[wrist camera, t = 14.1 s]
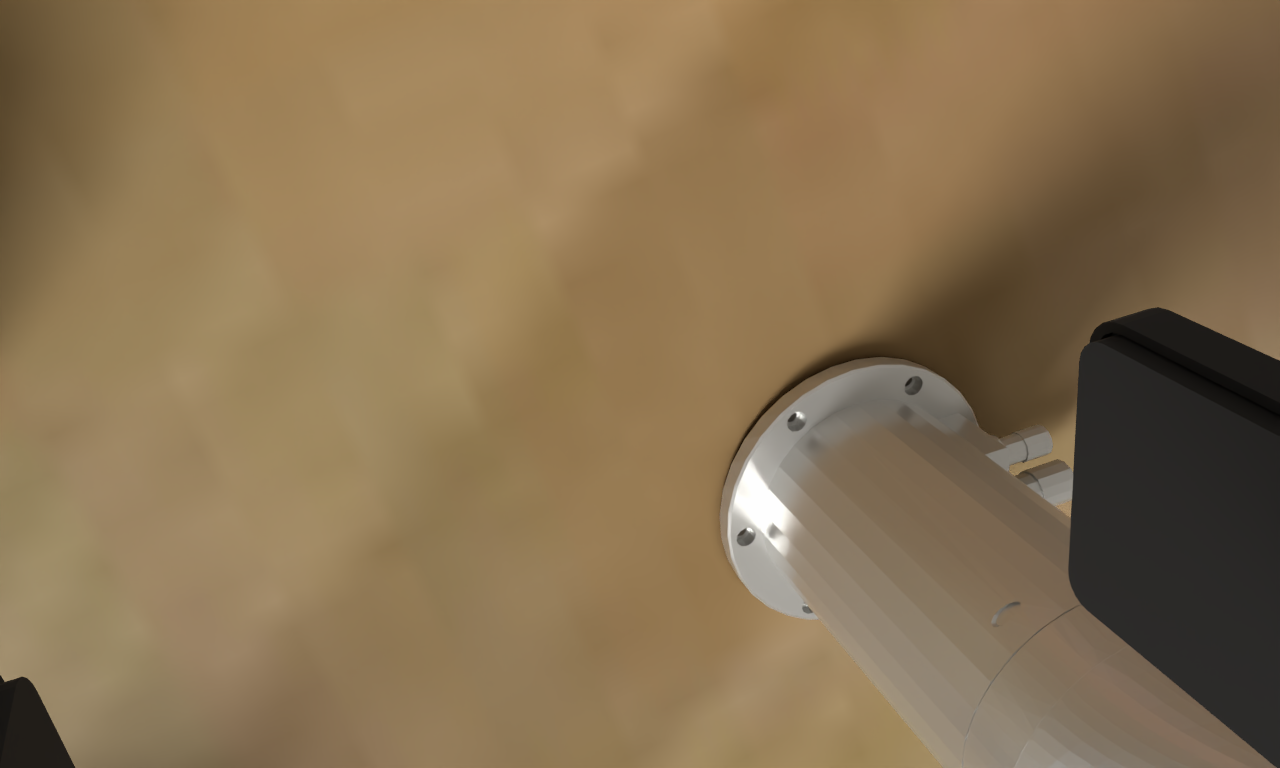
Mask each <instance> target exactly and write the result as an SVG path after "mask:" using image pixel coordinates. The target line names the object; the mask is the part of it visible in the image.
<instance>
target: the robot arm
mask: <svg viewBox="0 0 1280 768" xmlns="http://www.w3.org/2000/svg"><path fill="white" fill-rule="evenodd" d="M1052 447H1053V444H1052V438H1051V436H1050V434H1049V432H1048V430H1047V429H1046V428H1045V427H1044V426H1042V425H1039V424H1037V425H1034V426H1031V427H1028V428H1025V429H1022V430H1019V431H1016V432H1013V433H1012V434H1010V435H1009V436H1006V437H1003V438H1000V439H999V438H998V437H996V436H994V435H989V434H987V433H986V432H985V431H983V430H982V429H980V428H979V425H978V423H977V420H976V417H975V415H974V412H973V410H972V408H971V407H970V405H969V404H968V402H967V401H966V399H965V398H964V397H963V395H962V394H961V392H960V391H958V390H957V389H956V388H955V387H954V386H953V385H951V384H950V383H949V382H948V381H947V380H946V379H944V378H943V377H941V376H939V375H938V374H936V373H935V372H933V371H932V370H930V369H928V368H927V367H925V366H922V365H919V364H917V363H914V362H911V361H908V360H905V359H897V358H887V357H875V358H865V359H856V360H853V361H849V362H846V363H843V364H839V365H836V366H833V367H830V368H828V369H826V370H824V371H822V372H820V373H818V374H816V375H814V376H812V377H810V378H808V379H806V380H804V381H803V382H802V383H800V384H799V385H797V386H796V387H795V388H793V389H792V390H790V391H789V392H788V393H786V394H785V395H783V396H782V397H781V398H780V399H779V400H778V401H777V402H776V403H775V404H774V405H773V406H772V407H771V408H770V409H769V410H768V411H767V412H766V413H765V414H764V415H763V416H762V417H761V418H760V419H759V421H758V422H757V423H756V425H755V426H754V427H753V429H752V430H751V431H750V433H749V434H748V435H747V437H746V438H745V439H744V441H743V443H742V445H741V447H740V449H739V451H738V453H737V455H736V456H735V458H734V460H733V462H732V464H731V467H730V470H729V473H728V476H727V479H726V482H725V485H724V488H723V494H722V501H721V508H720V527H721V539H722V542H723V546H724V549H725V552H726V556H727V559H728V561H729V562H730V564H731V566H732V568H733V569H734V571H735V573H736V574H737V576H738V578H739V579H740V580H741V581H742V582H743V584H744V585H745V586H746V587H747V588H748V590H749V591H750V592H751V593H752V595H754V596H755V597H756V598H757V599H759V600H760V601H761V602H763V603H764V604H765V605H766V606H768V607H769V608H772V609H774V610H776V611H778V612H781V613H783V614H785V615H787V616H792V617H796V618H801V619H807V620H820V621H821V622H822V623H823V624H824V626H825V627H826V628H827V629H828V630H829V632H830V633H831V634H832V635H833V636H834V638H835V639H836V640H837V641H838V642H839V644H840V645H841V646H842V647H843V648H844V650H845V651H846V652H847V653H848V654H849V656H850V657H851V658H852V659H853V660H854V662H855V663H856V664H857V665H858V666H859V668H860V669H861V670H862V671H863V672H864V674H865V675H866V676H867V677H868V678H869V679H870V681H871V682H872V683H873V684H874V685H875V687H876V688H877V689H878V690H879V691H880V693H881V694H882V695H883V696H884V697H885V699H886V700H887V701H888V702H889V703H890V705H891V706H892V707H893V708H894V709H895V711H896V712H897V713H898V714H899V715H900V717H901V718H902V719H903V720H904V721H905V723H906V724H907V725H908V726H909V727H910V729H911V730H912V731H913V732H914V733H915V735H916V736H917V737H918V738H919V739H920V740H921V742H922V743H923V744H924V745H925V746H926V748H927V749H928V750H929V751H930V752H931V754H932V755H933V756H934V757H935V758H936V760H937V761H938V762H939V763H940V764H941V766H942V767H943V768H1280V361H1279V360H1277V359H1274V358H1272V357H1270V356H1268V355H1266V354H1263V353H1261V352H1259V351H1257V350H1255V349H1253V348H1250V347H1248V346H1246V345H1244V344H1242V343H1239V342H1237V341H1235V340H1233V339H1231V338H1228V337H1226V336H1224V335H1222V334H1220V333H1217V332H1215V331H1213V330H1211V329H1209V328H1207V327H1204V326H1202V325H1200V324H1198V323H1196V322H1193V321H1191V320H1189V319H1187V318H1185V317H1182V316H1180V315H1178V314H1176V313H1174V312H1172V311H1169V310H1166V309H1162V308H1152V309H1147V310H1144V311H1140V312H1137V313H1134V314H1131V315H1127V316H1124V317H1121V318H1118V319H1115V320H1111V321H1108V322H1105V323H1102V324H1101V325H1100V326H1098V327H1097V328H1096V329H1095V330H1094V332H1093V334H1092V336H1091V338H1090V343H1089V344H1088V345H1086V346H1085V347H1084V349H1083V351H1082V352H1081V356H1080V361H1079V378H1078V397H1077V415H1076V434H1075V452H1074V471H1073V472H1072V470H1071V468H1070V467H1069V466H1068V465H1067V464H1066V463H1065V462H1063V461H1061V460H1058V459H1057V460H1054V461H1051V462H1048V463H1045V464H1042V465H1039V466H1036V467H1033V468H1030V469H1027V470H1025V471H1022V472H1020V473H1019V475H1016V476H1013V475H1012V474H1011V473H1009V466H1010V465H1013V464H1016V463H1019V462H1023V463H1024V462H1027V461H1030V460H1032V459H1035V458H1038V457H1041V456H1044V455H1047V454H1049V453H1051V451H1052ZM1071 500H1072V508H1071V518H1070V517H1069V516H1067V515H1066V514H1065V513H1063V512H1062V511H1061V510H1059V509H1058V508H1057V507H1055V506H1057V505H1059V504H1062V503H1065V502H1068V501H1071ZM0 768H75V766H74V764H73V762H72V760H71V758H70V756H69V754H68V752H67V750H66V748H65V746H64V744H63V742H62V740H61V738H60V736H59V734H58V732H57V730H56V728H55V726H54V724H53V722H52V720H51V718H50V716H49V714H48V712H47V710H46V708H45V706H44V704H43V702H42V700H41V698H40V696H39V694H38V692H37V690H36V689H35V687H34V685H33V684H32V683H31V682H30V681H29V680H28V679H27V678H25V677H20V678H17V679H14V680H10V681H7V682H4V680H3V678H2V677H1V676H0Z"/></svg>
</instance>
